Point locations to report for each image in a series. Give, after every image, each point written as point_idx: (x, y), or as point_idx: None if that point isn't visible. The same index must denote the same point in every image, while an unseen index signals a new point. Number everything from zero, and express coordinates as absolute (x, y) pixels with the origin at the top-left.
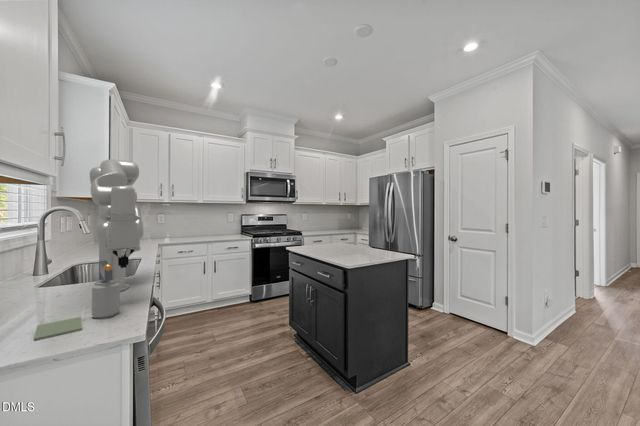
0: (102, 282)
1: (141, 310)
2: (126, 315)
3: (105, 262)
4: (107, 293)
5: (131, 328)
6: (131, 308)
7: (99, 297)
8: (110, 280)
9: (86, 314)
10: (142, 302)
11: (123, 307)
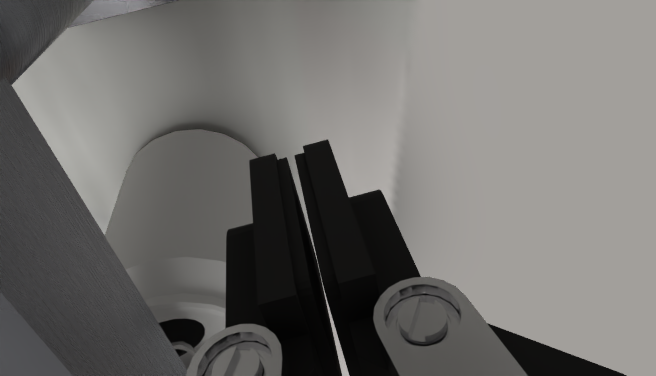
0: None
1: (379, 182)
2: (309, 228)
3: (9, 351)
4: None
5: (341, 361)
6: (325, 119)
7: (173, 334)
8: (200, 304)
9: (60, 118)
10: (392, 5)
11: (272, 71)
